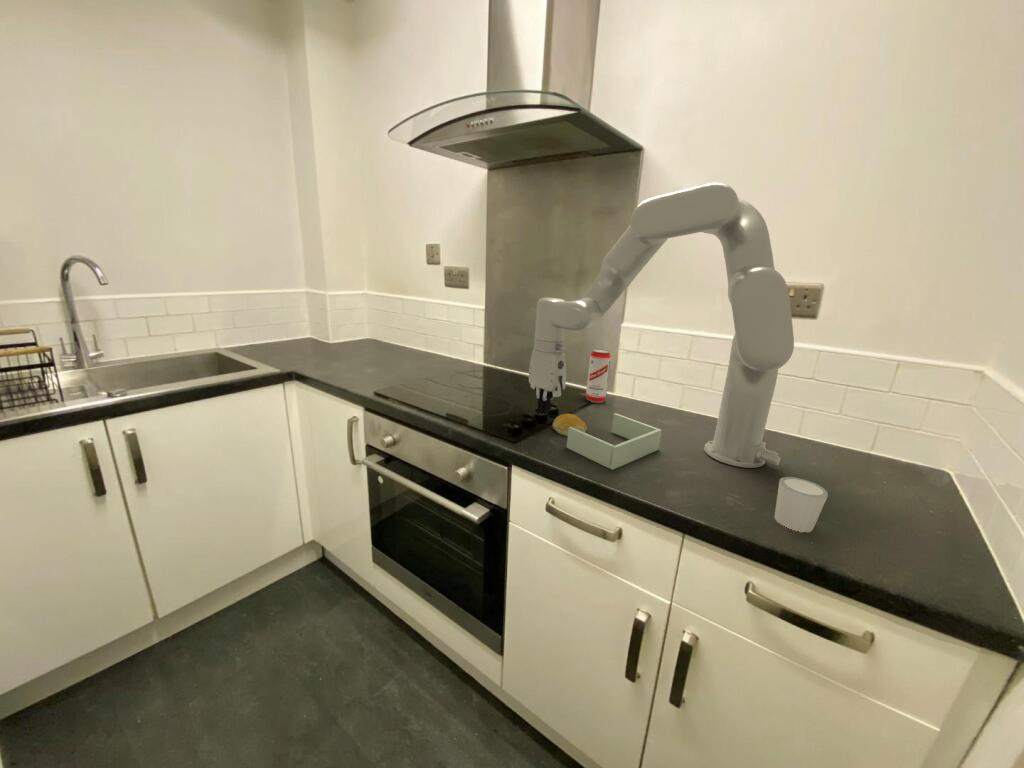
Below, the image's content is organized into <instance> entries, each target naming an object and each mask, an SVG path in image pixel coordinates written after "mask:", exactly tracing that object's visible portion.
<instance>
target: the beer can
mask: <svg viewBox="0 0 1024 768" xmlns="http://www.w3.org/2000/svg"><path fill="white" fill-rule="evenodd" d="M611 361H612V357H611V354H610V350H608V349H604V348H602V349H600V348H594V349H592V352H591V353H590V355H589V362H588V363H589V364H588V372H587V373H588V374H587V381H586V390H585V391H586V392H585V398H586V400H587V401H588V400H589V401H591V402H590V403H593V404H602V403H604V402H605V401H606V400H607V394H608V393H607V392H608V385H609V379H610V378H609V377H610V370H611ZM589 401H588V402H589Z"/></svg>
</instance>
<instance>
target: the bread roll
mask: <svg viewBox="0 0 1024 768" xmlns="http://www.w3.org/2000/svg"><path fill="white" fill-rule="evenodd" d="M569 427H573V428H575V429H577V430H580V431H582V432H584V433H586V432H587V430H588V426H587V424H586V423H585V422H584V421H583V420H582V419H581V418H580V417H579V416H577V415H576V414H572V413H563V414H560V415H558V416H557V417H556V418H555V419H554V420H553V422H552V428H553V430H555V431H556V433H558V434H560V435H563V436H565V437H568V429H569Z"/></svg>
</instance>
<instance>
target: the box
mask: <svg viewBox="0 0 1024 768" xmlns="http://www.w3.org/2000/svg"><path fill="white" fill-rule="evenodd" d="M611 433H612V434H615V435H617V436H619V437H623V438H624V439H628V440H625V441H623V442H620V443H618V444H615V445H614V444H612V443H610V442H607V441H606V440H603V439H600V438H598V437H595V436H593V435H592V434H588V433H586V432H585V433H584V432H582V431H580V430H577V429H575V428H573V427H569V429H568V436H567V439H566V448H567V449H568V450H570V451H573V452H575V453H577V454H579V455H581V456H583V457H584V458H587V459H589V460H591V461H594V462H595V463H598V464H599V465H602V466H603V467H606V468H607V469H610V470H612V471H613V470H616V469H617V468H620V467H622V466H624V465H627V464H629V463H632V462H633V461H636V460H639V459H640V458H643V457H645V456H647V455H650V454H652V453H654V452H656V451H658V450H659V449H660V443H661V437H662V429H660V428H658V427H655V426H652V425H649V424H646V423H644V422H641V421H638V420H635V419H632V418H630V417H629V416H628V417H627V416H624V415H622V414H619V413H616V412H615V413H613V420H612V427H611Z"/></svg>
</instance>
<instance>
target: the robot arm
mask: <svg viewBox="0 0 1024 768" xmlns="http://www.w3.org/2000/svg"><path fill="white" fill-rule="evenodd" d="M697 233H704V234H707V235H708V234H710V235H713V236H715V237H716V238H717V239H718V240H719V241H720V244H721V246H722V252H723V257H724V263H725V268H726V269H725V270H726V277H727V297H728V300H729V303H730V305H731V312H732V319H733V327H734V335H733V338H732V342H731V348H730V352H729V353H730V355H729V361H728V368H727V372H726V378H725V382H724V388H723V392H722V397H721V402H720V408H719V411H718V416H717V421H716V427H715V432H714V436H713V440H709V441H707V442H706V443H705V444H704V448H703V449H704V451H705V453H706V454H707V455H708V456H709V457H710V458H712V459H714V460H716V461H718V462H721V463H724V464H727V465H730V466H734V467H738V468H746V469H748V468H749V469H753V468H761V467H763V466H764V465H765V464H766V462H767V463H769V464H772V465H775V466H778V465H779V464H780V461H781V456H779V453H778V452H776V451H773V450H768V449H767V448H766V445H767V442H765V441H763V437H764V434H765V429H766V426H767V421H768V417H769V413H770V408H771V404H772V401H773V400H772V399H773V397H774V394H775V388H776V384H777V379H778V373H779V369H781V368H782V367H783V366H785V365H786V364H787V363H788V362H789V361H790V359H791V358H792V355H793V352H794V348H795V340H794V339H795V338H794V337H795V336H794V328H793V327H794V326H793V319H792V318H793V316H792V309H791V301H790V294H789V288H788V285H787V282H786V280H785V278H784V276H782V274H781V273H780V272H778V270H775V269H776V268H775V262H774V255H773V250H772V249H773V248H772V244H771V238H770V233H769V228H768V226H767V223H766V220H765V219H764V217H763V215H762V213H760V211H758V209H757V208H756V207H755V206H753V205H752V204H751V203H749V202H748V201H746V200H744V199H741V198H739V197H738V194H737V192H736V190H735V189H734V188H733V187H731V186H730V185H729V184H726V183H721V182H711V183H706V184H703V185H698V186H693V187H689V188H685V189H683V190H677V191H675V192H670V193H665V194H661V195H657V196H654V197H649V198H646V199H645V200H642V201H641V202H640V203H639V204H638V205H637V206H636V207H635V208H634V210H633V211H632V214H631V217H630V224H629V225H628V227H626V230H625V231H624V232H622V235H621V236H620V237H619V238H618V239H617V241H616V242H615V243H614V244H613V246H612V248H610V250H609V251H608V252H607V254H606V255H605V256H604V257H603V259H602V263H601V267H600V270H599V273H598V275H597V277H596V278H595V280H594V282H593V283H592V284H591V285H590V287H589V288H588V290H587V291H586V292H585V293H584V295H582V297H581V298H580V299H576V300H569V301H568V300H565V299H563V298H558V297H542V298H539V299H538V301H537V303H536V304H537V305H536V315H535V331H534V344H533V349H532V352H531V356H530V362H529V369H528V382H529V384H530V388H531V389H533V390H534V391H535V394H536V399H537V409H536V411H537V412H536V413H537V414H540V415H544V414H543V413H546V414H549V413H550V411H551V400H553V399H554V398H559V397H561V396H562V390H563V391H564V390H565V389H566V384H567V383H566V382H567V362H566V361H567V360H566V359H567V358H566V354H565V353H564V351H565V350H566V346H565V345H564V342H565V331H570V332H575V333H580V332H584V331H585V330H586V331H587V330H588V329H590V328H591V327H594V326H595V325H597V324H598V323H599V322H600V320H601V319H602V318H603V317H604V316H605V314H606V313H608V311H609V310H610V309H611V308H612V307H613V306H614V305H615V303H616V302H617V300H618V299H620V296H621V295H622V294H623V293H624V292H625V290H626V289H628V287H630V285H631V284H632V283H633V280H635V278H636V277H637V276H638V275H639V273H640V272H641V271H642V270H643V268H644V267H645V266H646V265H647V264H648V263H649V262H650V260H651V259H652V258H653V257H654V256H655V255H656V253H657V252H658V251H659V250H660V249H662V246H663V245H664V244H665V243H666V242H667V241H668V239H673V238H678V237H682V236H683V237H684V236H687V235H692V234H697Z"/></svg>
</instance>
